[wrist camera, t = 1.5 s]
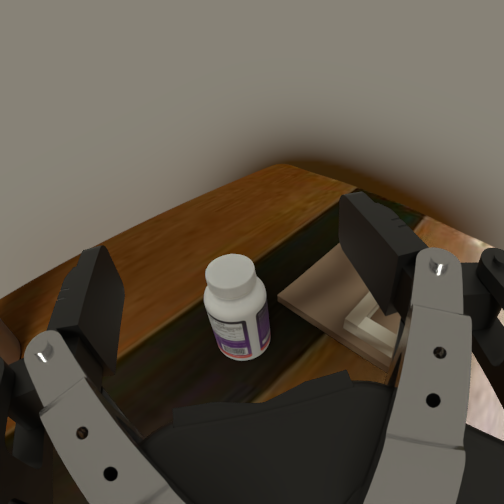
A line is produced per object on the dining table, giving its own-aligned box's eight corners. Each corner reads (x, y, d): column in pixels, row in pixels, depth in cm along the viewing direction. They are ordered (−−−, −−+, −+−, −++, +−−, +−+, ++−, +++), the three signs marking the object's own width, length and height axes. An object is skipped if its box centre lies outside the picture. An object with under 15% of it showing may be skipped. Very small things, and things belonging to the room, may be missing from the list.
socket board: (277, 301, 35) (276, 285, 34) (340, 247, 41) (341, 232, 40) (418, 392, 25) (427, 380, 23) (462, 312, 30) (469, 297, 29)
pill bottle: (252, 311, 35) (241, 239, 28) (281, 344, 31) (277, 273, 25) (208, 334, 33) (185, 265, 26) (234, 371, 29) (215, 306, 23)
